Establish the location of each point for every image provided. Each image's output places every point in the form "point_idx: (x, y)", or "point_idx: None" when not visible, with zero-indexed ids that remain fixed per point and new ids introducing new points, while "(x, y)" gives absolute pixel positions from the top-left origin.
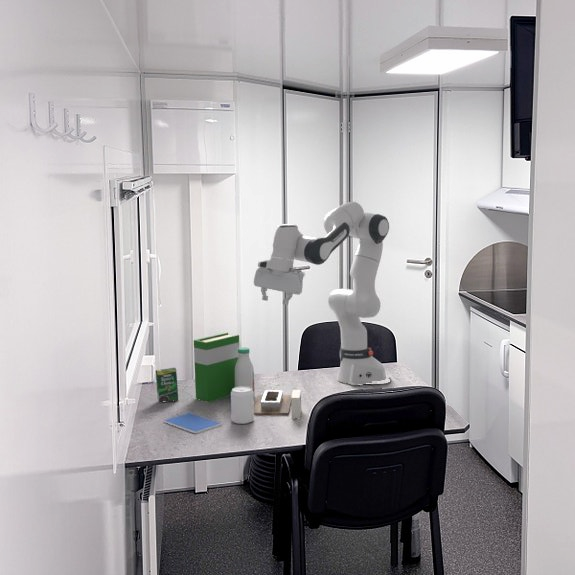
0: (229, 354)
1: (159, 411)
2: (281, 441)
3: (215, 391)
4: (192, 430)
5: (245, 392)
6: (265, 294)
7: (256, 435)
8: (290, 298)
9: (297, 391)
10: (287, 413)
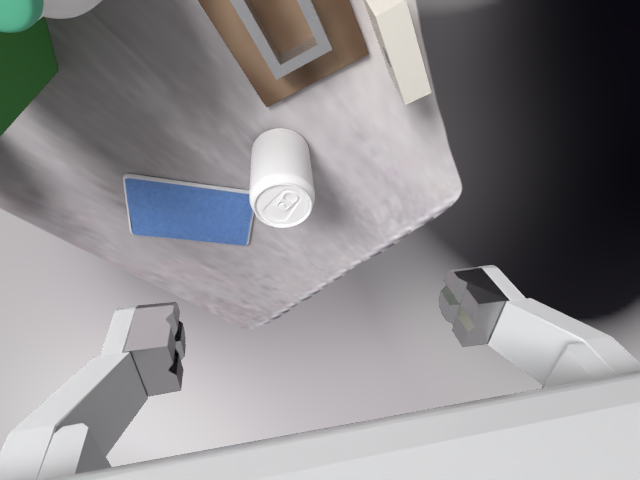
0: None
1: (47, 193)
2: (421, 200)
3: (35, 45)
4: (235, 244)
5: (306, 216)
6: (120, 383)
7: (360, 200)
8: (565, 320)
9: (400, 29)
10: (366, 53)
